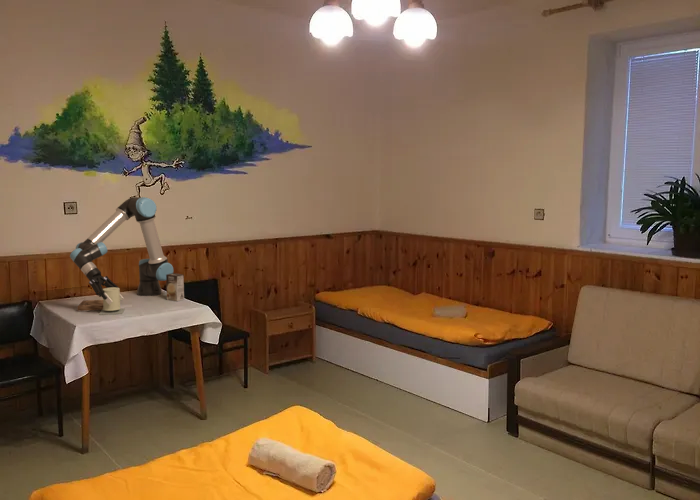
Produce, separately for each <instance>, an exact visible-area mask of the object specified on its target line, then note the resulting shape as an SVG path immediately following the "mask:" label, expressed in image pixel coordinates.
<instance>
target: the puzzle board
mask: <svg viewBox="0 0 700 500" xmlns="http://www.w3.org/2000/svg"><path fill="white" fill-rule="evenodd" d="M102 309H103V299H88V300H82V301H81V302H80V303H79V304H78V305H77V312H82V311H83V312H84V311H85V312H86V311H102Z"/></svg>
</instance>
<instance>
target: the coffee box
mask: <svg viewBox="0 0 700 500" xmlns="http://www.w3.org/2000/svg"><path fill="white" fill-rule="evenodd" d="M184 277H185V276H184V274H183V273H176V272H175V273H174V272H173V273H171V274H167V275H166V283H165V285H166V300H167V301H171V302H172V301H173V302H180V301H184V300H185V284H184V283H185V282H184V279H185V278H184ZM183 299H184V300H183Z"/></svg>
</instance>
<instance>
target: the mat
mask: <svg viewBox="0 0 700 500" xmlns="http://www.w3.org/2000/svg"><path fill="white" fill-rule="evenodd" d="M125 310H126V309H125V308H124V307H123V308H121V309H119V310H114V311H105V310H103V309H102V310H100V312H99V313H98V316H105V315H106V316H107V315H109V316H111V315H113V316H114V315H123V313H124V311H125Z"/></svg>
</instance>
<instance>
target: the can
mask: <svg viewBox="0 0 700 500" xmlns="http://www.w3.org/2000/svg"><path fill="white" fill-rule="evenodd" d="M102 289H103V291H104V293H106V294H107V295H108V296H109V298H110V299H111V300H112V301H113V302H112V303H111V304H110V305H109V304H108V303H107V302H106V301H105V300H104V299H103V298H102V300H103V310H105V311H114V310H119V309H122V308H121V301H120V294H121V291H120V287H118V288H116V287H112V288H107V287H105V288H102Z"/></svg>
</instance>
